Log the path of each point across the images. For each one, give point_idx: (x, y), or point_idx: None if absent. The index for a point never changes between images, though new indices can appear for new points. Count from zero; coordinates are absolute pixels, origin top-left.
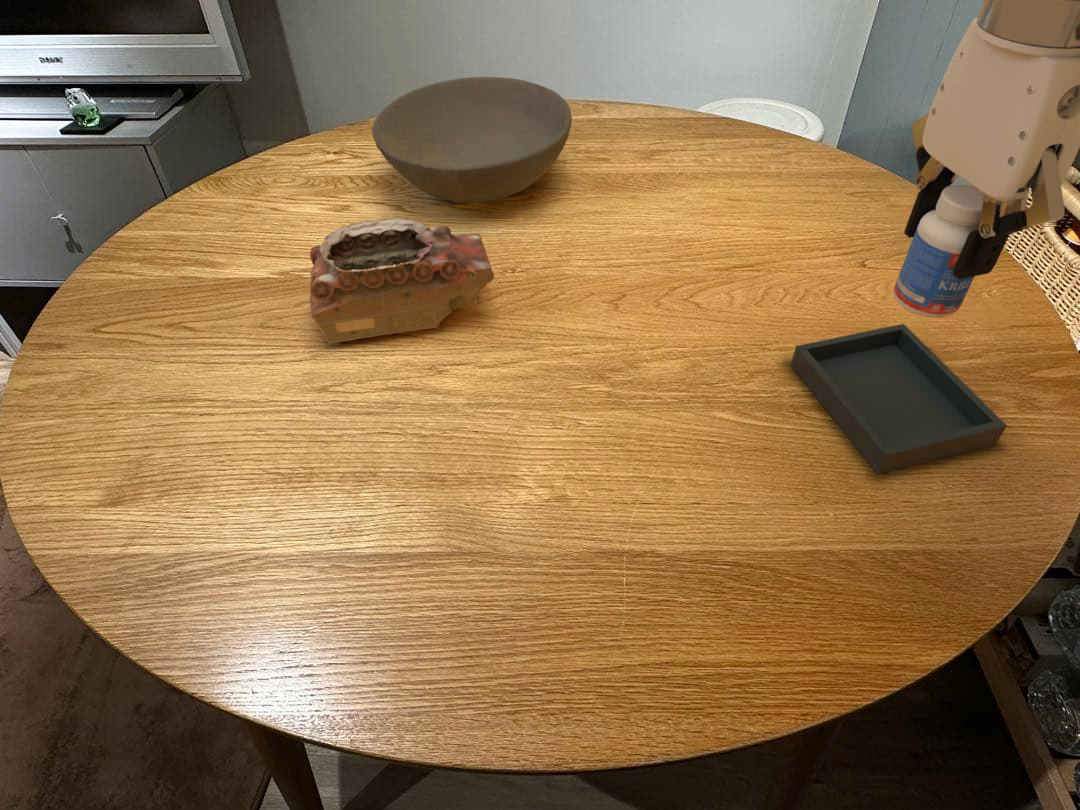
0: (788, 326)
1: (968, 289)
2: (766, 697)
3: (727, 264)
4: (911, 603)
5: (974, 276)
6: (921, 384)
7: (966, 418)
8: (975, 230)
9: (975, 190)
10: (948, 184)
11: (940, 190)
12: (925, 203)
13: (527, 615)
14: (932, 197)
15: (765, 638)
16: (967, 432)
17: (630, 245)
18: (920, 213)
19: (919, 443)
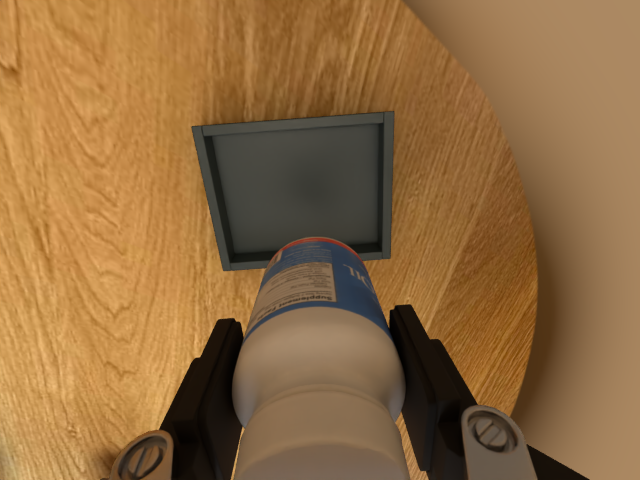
0: (164, 235)
1: (360, 267)
2: (506, 377)
3: (36, 255)
4: (496, 281)
5: (369, 287)
6: (287, 145)
7: (349, 127)
8: (422, 464)
9: (285, 475)
10: (193, 470)
11: (205, 465)
12: (230, 459)
13: (413, 457)
14: (225, 469)
15: (476, 367)
16: (389, 164)
17: (8, 339)
18: (238, 432)
19: (387, 222)
